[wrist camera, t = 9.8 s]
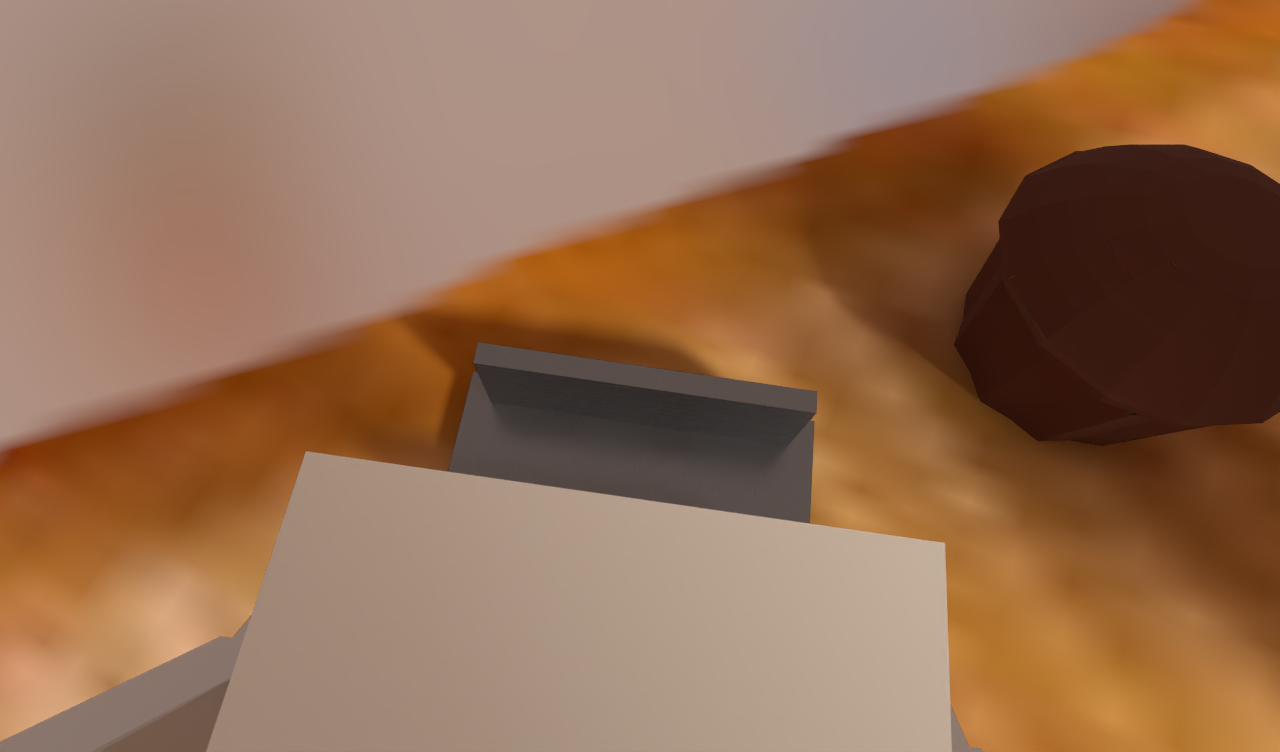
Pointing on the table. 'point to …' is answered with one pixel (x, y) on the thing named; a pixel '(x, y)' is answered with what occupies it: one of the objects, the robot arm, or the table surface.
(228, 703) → the tall cream block
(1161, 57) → the table surface
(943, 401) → the table surface
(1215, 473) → the table surface
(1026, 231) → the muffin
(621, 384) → the dish rack
